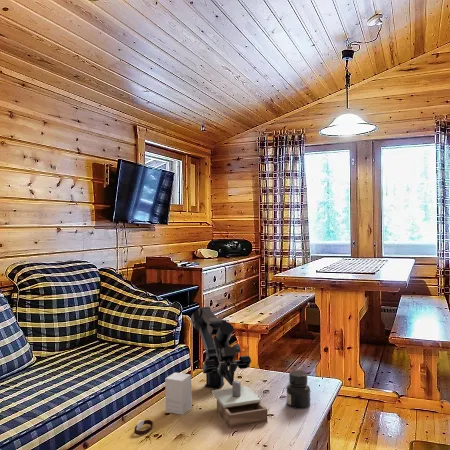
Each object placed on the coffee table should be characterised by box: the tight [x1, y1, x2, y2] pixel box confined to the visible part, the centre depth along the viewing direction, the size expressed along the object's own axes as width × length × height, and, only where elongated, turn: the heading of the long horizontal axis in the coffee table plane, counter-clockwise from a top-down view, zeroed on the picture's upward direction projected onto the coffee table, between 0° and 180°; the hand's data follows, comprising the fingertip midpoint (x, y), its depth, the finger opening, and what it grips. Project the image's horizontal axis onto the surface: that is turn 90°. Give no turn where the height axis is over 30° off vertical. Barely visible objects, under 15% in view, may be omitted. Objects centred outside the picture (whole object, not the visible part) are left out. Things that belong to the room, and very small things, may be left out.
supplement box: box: [164, 372, 193, 416], centre depth 169 cm, size 7×7×13 cm
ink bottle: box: [286, 370, 311, 410], centre depth 172 cm, size 10×9×12 cm
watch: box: [133, 419, 154, 436], centre depth 153 cm, size 8×5×4 cm, turn 150°
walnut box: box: [216, 399, 269, 429], centre depth 162 cm, size 14×14×4 cm
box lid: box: [211, 380, 262, 408], centre depth 168 cm, size 14×14×6 cm
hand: (232, 384), depth 171 cm, fingers closed
